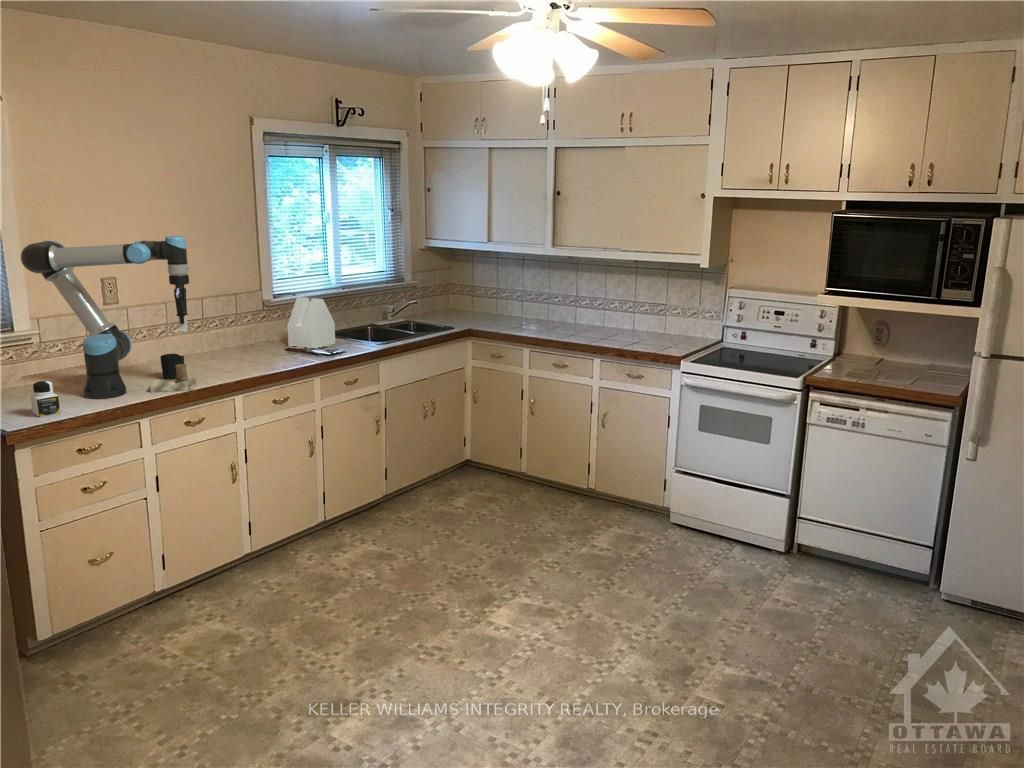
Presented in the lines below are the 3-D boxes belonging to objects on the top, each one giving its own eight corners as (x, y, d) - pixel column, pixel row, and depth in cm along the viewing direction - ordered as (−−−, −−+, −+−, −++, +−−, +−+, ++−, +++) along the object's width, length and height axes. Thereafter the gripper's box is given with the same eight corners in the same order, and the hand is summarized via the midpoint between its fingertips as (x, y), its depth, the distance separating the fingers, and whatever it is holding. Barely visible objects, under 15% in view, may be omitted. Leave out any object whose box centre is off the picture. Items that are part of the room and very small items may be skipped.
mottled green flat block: (151, 392, 317) (150, 385, 316) (155, 386, 325) (154, 379, 324) (192, 390, 320) (192, 383, 319) (196, 385, 329) (195, 378, 328)
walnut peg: (176, 389, 321) (174, 366, 318) (178, 387, 325) (176, 364, 322) (187, 389, 322) (185, 365, 319) (189, 386, 326) (187, 363, 323)
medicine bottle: (39, 417, 282) (34, 385, 278) (32, 413, 286) (27, 382, 283) (60, 413, 287) (56, 382, 284) (53, 409, 291) (49, 378, 288)
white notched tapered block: (312, 340, 424) (310, 294, 418) (335, 343, 418) (333, 297, 411) (288, 346, 407) (285, 299, 401) (312, 349, 401) (309, 301, 395)
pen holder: (186, 375, 346) (184, 353, 343) (184, 380, 337) (182, 357, 334) (163, 376, 343) (161, 354, 340) (161, 381, 334) (159, 358, 332)
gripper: (185, 276, 313) (190, 333, 319) (191, 272, 325) (196, 328, 331) (165, 276, 311) (170, 334, 317) (172, 272, 324) (177, 328, 330)
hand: (183, 331), depth 324 cm, fingers closed
